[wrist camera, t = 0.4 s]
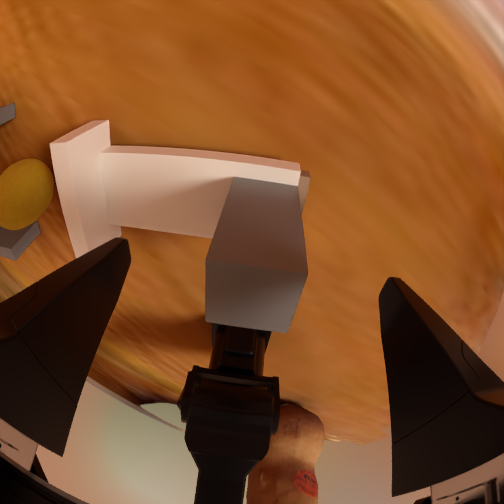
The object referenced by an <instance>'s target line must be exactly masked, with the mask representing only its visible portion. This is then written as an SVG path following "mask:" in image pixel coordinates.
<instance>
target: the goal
mask: <svg viewBox="0 0 504 504" xmlns="http://www.w3.org/2000/svg"><path fill="white" fill-rule="evenodd" d="M15 117H16V115H15V103H13V104H9V105H6V106H3V107H0V125H1V124H3V123H5V122H7V121H9V120H11V119H13V118H15ZM40 233H41V232H40V229H39V225H38V222H37V221H35V222H33V223H32V224H30V225H29V226H27V227H24V228H22V229H20V230H8V229H5V228H3V227H1V226H0V256H2V257H6V258H9V259H12V260H17V259H18V258H19V256H20V255H21V254H22V253H23V252H24V251H25V249H26V248H27V247H28V246H29V245H30V244H31V243H32V241H33V240H34V239H35V238H36V237H37V236H38V235H39V234H40Z"/></svg>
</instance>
